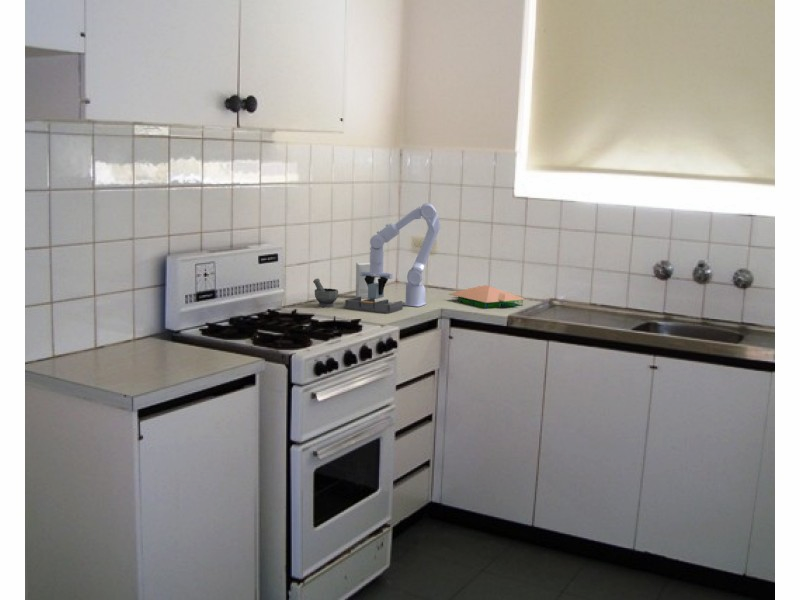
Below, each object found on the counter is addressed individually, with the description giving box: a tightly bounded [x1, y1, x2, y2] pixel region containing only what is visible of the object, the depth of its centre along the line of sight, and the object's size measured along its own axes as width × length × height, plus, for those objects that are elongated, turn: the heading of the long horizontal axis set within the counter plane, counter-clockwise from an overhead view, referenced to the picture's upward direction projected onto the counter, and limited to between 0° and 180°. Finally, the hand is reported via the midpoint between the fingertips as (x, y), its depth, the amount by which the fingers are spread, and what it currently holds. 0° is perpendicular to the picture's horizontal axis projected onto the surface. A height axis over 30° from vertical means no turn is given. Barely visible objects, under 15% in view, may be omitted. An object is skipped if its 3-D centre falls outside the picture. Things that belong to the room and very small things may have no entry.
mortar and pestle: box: [313, 278, 339, 308], centre depth 353 cm, size 11×9×12 cm
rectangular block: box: [367, 282, 385, 300], centre depth 364 cm, size 7×4×6 cm, turn 154°
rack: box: [344, 296, 404, 314], centre depth 351 cm, size 12×21×4 cm, turn 64°
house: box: [449, 284, 526, 309], centre depth 377 cm, size 23×33×8 cm
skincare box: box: [355, 262, 377, 299], centre depth 380 cm, size 8×7×16 cm
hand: (375, 294), depth 364 cm, fingers closed on rectangular block, 4 cm apart
